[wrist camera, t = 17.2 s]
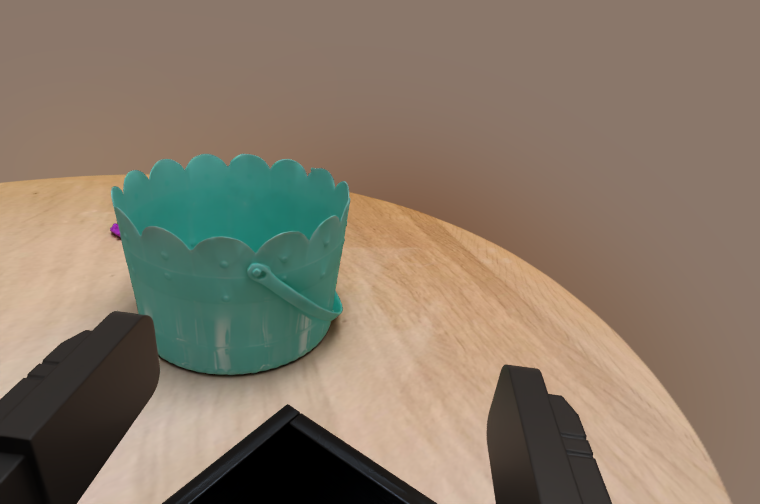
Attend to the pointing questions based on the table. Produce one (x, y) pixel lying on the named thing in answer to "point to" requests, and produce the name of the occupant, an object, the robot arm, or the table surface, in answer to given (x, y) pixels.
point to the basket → (233, 259)
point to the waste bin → (295, 470)
